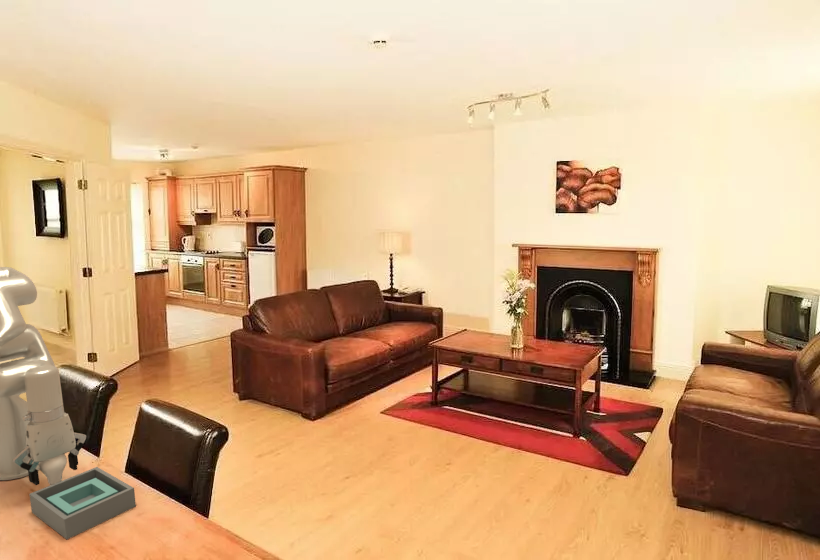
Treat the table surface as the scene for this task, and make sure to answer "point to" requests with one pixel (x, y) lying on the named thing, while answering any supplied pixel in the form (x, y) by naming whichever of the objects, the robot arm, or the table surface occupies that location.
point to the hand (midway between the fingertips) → (55, 475)
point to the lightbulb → (53, 468)
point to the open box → (82, 501)
